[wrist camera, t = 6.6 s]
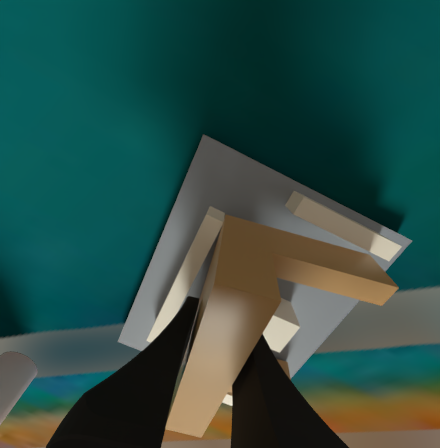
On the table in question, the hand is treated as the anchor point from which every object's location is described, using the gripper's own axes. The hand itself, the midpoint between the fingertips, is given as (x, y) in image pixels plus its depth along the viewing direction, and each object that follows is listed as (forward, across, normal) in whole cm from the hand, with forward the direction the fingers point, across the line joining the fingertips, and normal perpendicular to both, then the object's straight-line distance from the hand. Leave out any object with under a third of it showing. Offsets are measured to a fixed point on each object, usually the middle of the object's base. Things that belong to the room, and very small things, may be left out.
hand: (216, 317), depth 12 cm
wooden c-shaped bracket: (+2, -3, 0) cm, 3 cm away
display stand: (+4, -2, 0) cm, 4 cm away
